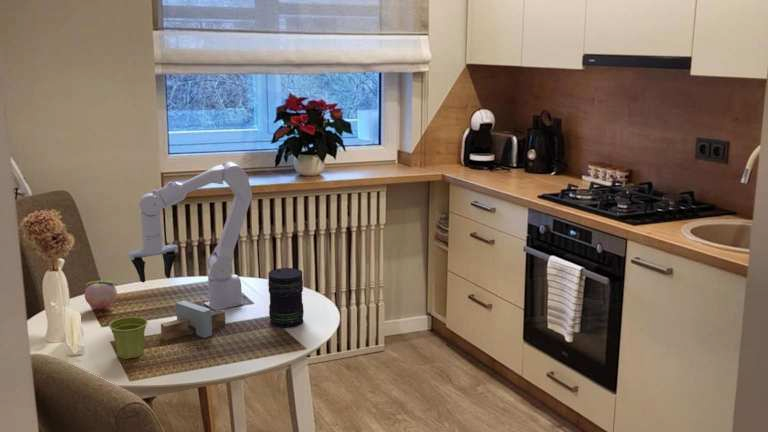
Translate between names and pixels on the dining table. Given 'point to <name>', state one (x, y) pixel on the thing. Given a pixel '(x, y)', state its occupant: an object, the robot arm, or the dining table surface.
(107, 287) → the decorative fruit
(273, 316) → the camera lens
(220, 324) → the base rail
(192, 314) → the crosspiece
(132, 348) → the plant pot
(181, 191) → the robot arm
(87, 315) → the dining table surface
